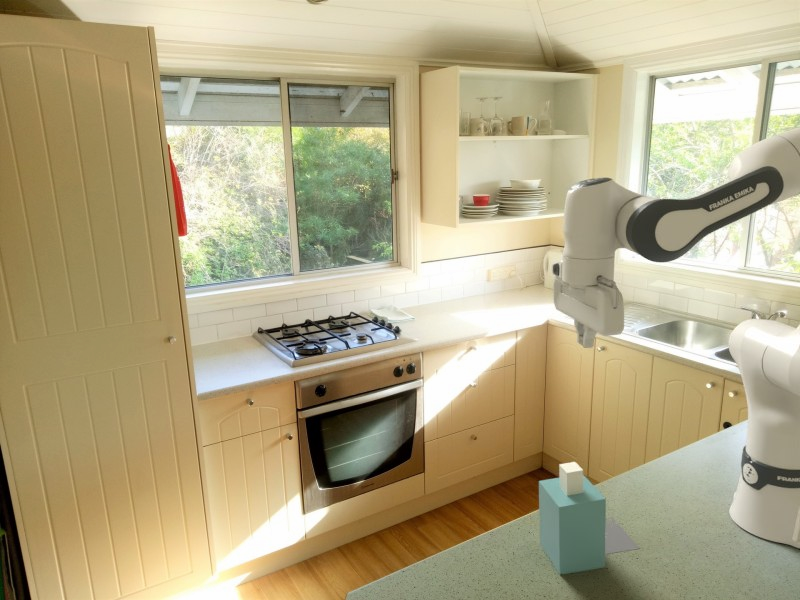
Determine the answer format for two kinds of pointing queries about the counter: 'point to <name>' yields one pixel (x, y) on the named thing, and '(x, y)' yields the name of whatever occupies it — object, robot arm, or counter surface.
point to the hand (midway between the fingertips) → (585, 345)
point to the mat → (617, 538)
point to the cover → (572, 521)
